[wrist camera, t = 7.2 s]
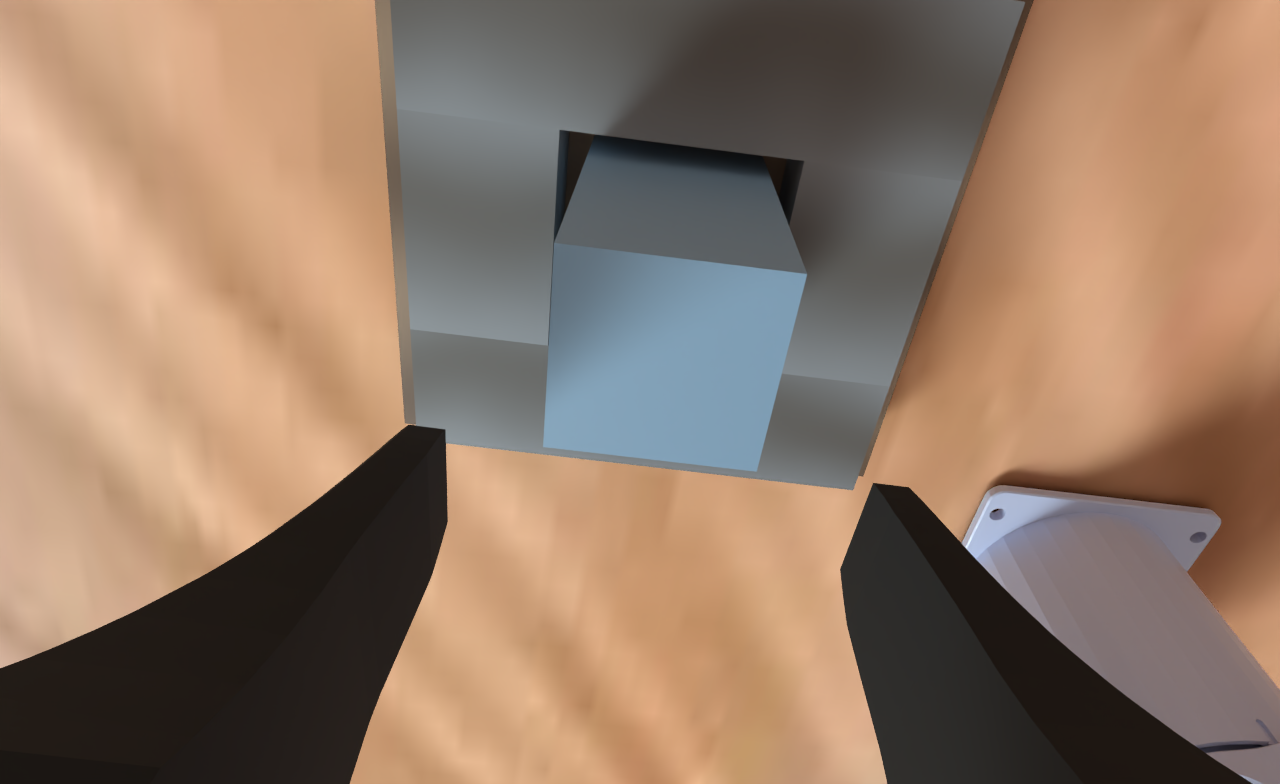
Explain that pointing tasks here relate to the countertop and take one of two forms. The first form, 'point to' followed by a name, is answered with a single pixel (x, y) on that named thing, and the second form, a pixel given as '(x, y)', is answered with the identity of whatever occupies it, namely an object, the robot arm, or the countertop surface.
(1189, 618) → the robot arm
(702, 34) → the socket block
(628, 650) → the countertop surface
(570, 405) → the blue peg
